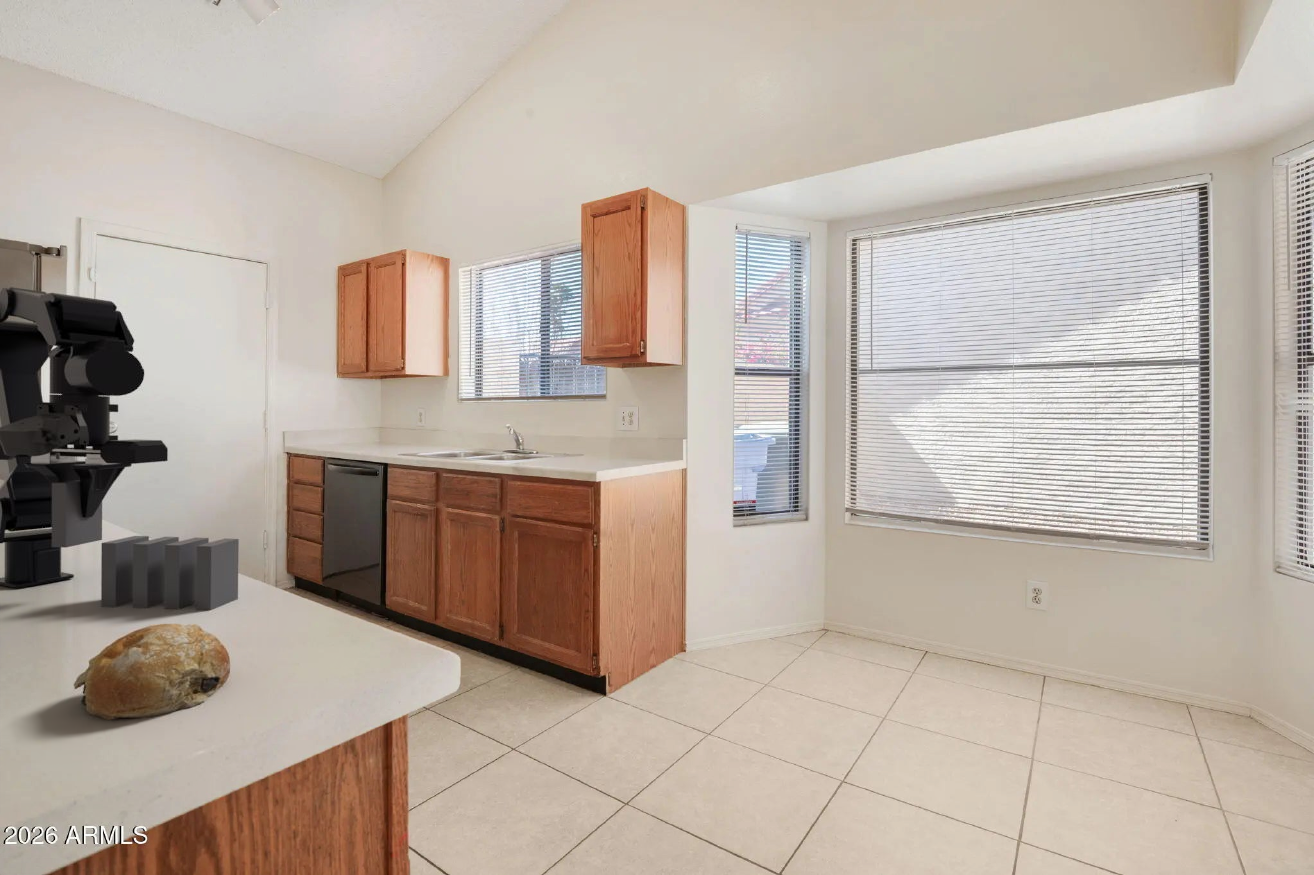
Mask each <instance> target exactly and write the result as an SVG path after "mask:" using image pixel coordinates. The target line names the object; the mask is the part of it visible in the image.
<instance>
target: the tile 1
mask: <svg viewBox="0 0 1314 875" xmlns="http://www.w3.org/2000/svg"><path fill="white" fill-rule="evenodd" d="M102 540H103V501H102V502H101V504H100V505H99V507H98V509H97V510H96V512H95V514H94V515H93V516H92V517H88V518H84V517H83V516H82V510H81V494H80V480H75V481H65V482H55V483H52V547H61V548H66V549H67V548H71V547H74V546H80V545H84V544H88V543H94V542H99V541H102Z"/></svg>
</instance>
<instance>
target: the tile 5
mask: <svg viewBox="0 0 1314 875" xmlns="http://www.w3.org/2000/svg"><path fill="white" fill-rule="evenodd" d="M239 540H240V539H239V538H227V537H226V538H222V539H218V540H213V541H209V543H206V544H202V545H199V546H197V595H196V603H195V605H196V607H195V608H196V609H195V610H196V611H213V610H215V609H217V608H220V607H222V606H224V605H227V604H229V603H231V602H234V601H237V600H239Z"/></svg>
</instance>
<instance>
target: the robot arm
mask: <svg viewBox="0 0 1314 875" xmlns="http://www.w3.org/2000/svg"><path fill="white" fill-rule="evenodd" d="M117 309H118V307H117V305H116V304H115V302H113V301H111V300H107V299H106V300H105V299H104V300H103V299H98V298H92V297H85V296H77V295H70V294H64V293H55V292H46V291H42V290H41V291H40V290H34V289H27V288H21V287H20V288H19V287H14V286H10V287H8V288H7V287H3V288H1V290H0V424H1V426H0V461H1V460H2V461H7V466H8V473H9V474H8V475H7V476H6V479H5V480H4V481H3V482H2V484H1V486H0V544H4V577H0V586H4V587H5V586H6V587H9V588H15V589H19V588H25V587H29V586H30V587H31V586H36V585H37V586H38V585H42V584H47V583H52V582H59V581H63V580H67V579H69V580H70V579H73V578H74V577H75V574H73V573H68V572H62V547H52V483H55V482H65V481H75V480H80V494H81V510H82V516H83V517H84V518H88V517H92V516H93V515H94V514H95V512H96V510H97V509H98V507H99V505H100V504H101V502H102V503H103V500H104V499H105V497H106V495H107V494H108V493H109V491H110V490H111V488H112V487H113V486H112V485H113V484H114V483H115V482H116V480H117V479H118V478H119V477H120V475H121V474H122V472H123V471H124V470H125V469H126V468H130V467H132V464H133V465H135V464H146V463H148V464H149V463H158V462H159V463H161V462H168V459H169V458H168V455H169V454H168V446H167V445H166V444H165V442H164V441H163V440H162V439H159V440H158V439H119V435H116V434H114V435H112V434H111V433H110V431H111V430H110V429H111V426H110V424H111V420H110V419H111V416H110V415H111V414H110V413H119V404H118V403H117V404H116V403H114V404H112V403H111V400H110V399H111V397H113V396H114V397H120V396H127V395H128V394H131V393H133V392H135V391H136V390H137V389H139V387H140V386H141V385H142V383H143V381H144V378H145V369H144V367H143V365H142V363H141V361H140V360H139V359H138V358H137V357H136V356H135V355H134V354H133V353H132V352H134V342H135V339H134V337H133V335H132V333H131V331H130V329H129V327H128V325H127V324H126V321H125V320H124V317H123V313H122V312H121V311H120V310H117ZM9 317H17V318H21V319H23V320H27V321H30V322H27V321H26V322H24V321H16V320H9ZM54 346H55V347H54ZM53 347H54V348H53ZM48 359H49V395H48V396H49V398H48V399H49V400H48V401H46V402H45V401H44V400H43V395H42V389H41V384H40V377H39V371H40V370H41V368H42V367H43V366H44V364H45V363H46V361H47V360H48ZM70 446H73V447H70ZM76 457H78V458H85V459H84V460H76ZM6 531H7V532H6Z"/></svg>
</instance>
